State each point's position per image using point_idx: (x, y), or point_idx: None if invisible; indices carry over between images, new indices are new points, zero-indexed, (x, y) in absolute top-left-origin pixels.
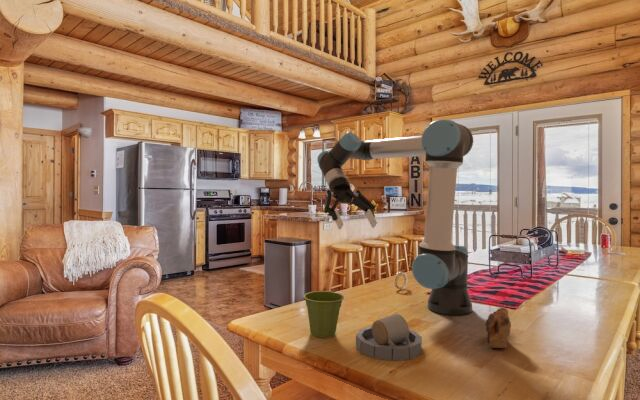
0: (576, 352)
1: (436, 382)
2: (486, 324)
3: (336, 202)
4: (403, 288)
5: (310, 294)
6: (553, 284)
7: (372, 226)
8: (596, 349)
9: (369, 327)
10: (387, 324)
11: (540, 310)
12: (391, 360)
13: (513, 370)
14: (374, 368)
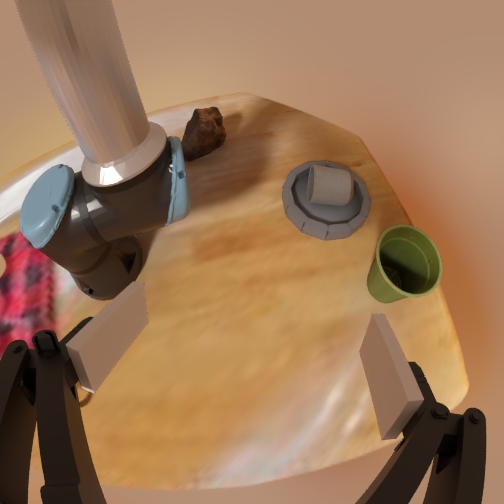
0: (163, 119)
1: (332, 136)
2: (203, 140)
3: (398, 488)
4: None
5: (423, 292)
6: None
7: (145, 318)
8: None
9: (333, 228)
10: (344, 170)
11: None
12: None
13: (251, 119)
14: (370, 176)
